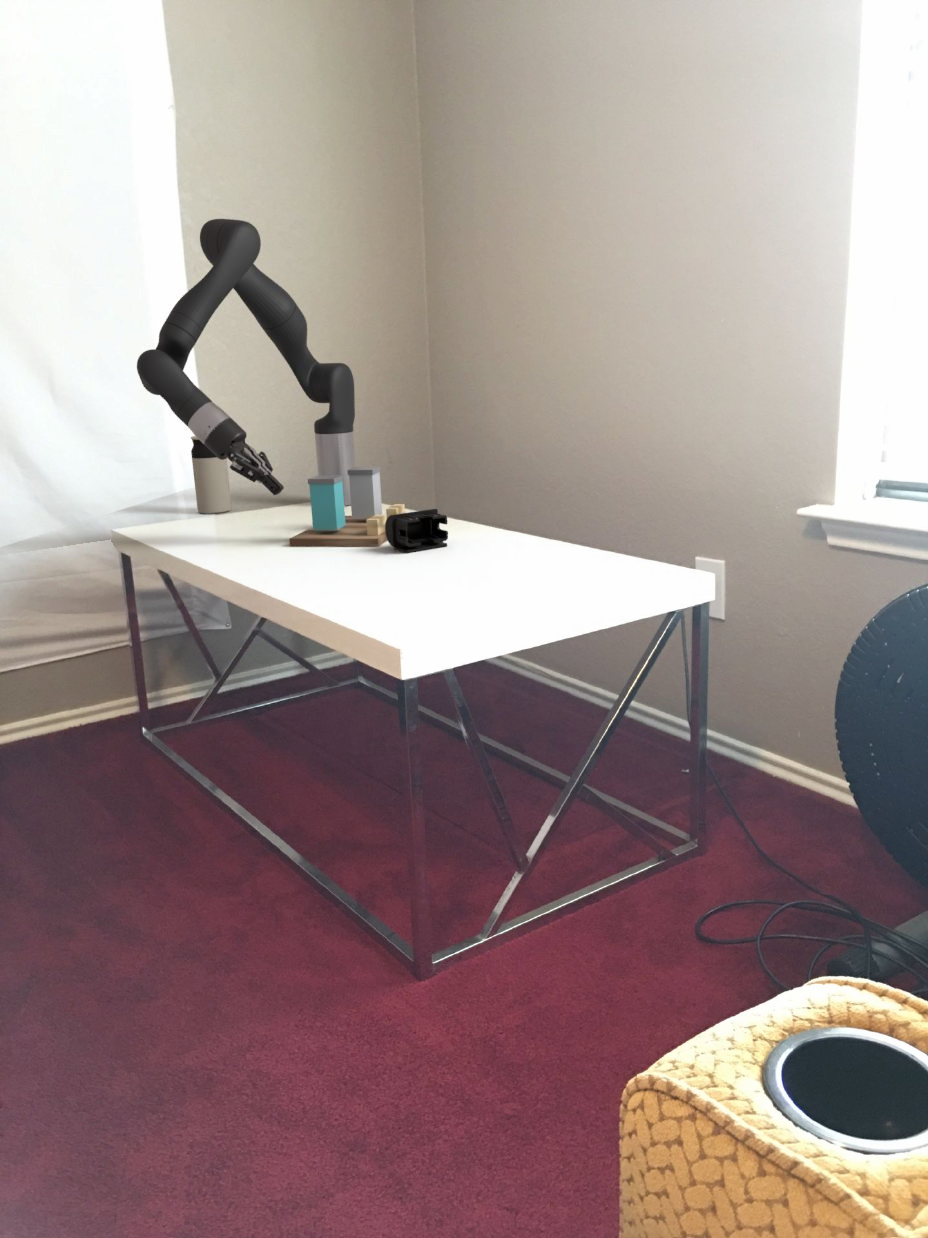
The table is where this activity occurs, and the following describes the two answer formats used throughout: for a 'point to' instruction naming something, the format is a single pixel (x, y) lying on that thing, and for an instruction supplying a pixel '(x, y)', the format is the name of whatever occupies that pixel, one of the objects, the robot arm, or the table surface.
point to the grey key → (365, 491)
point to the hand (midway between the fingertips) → (279, 491)
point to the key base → (350, 532)
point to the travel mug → (210, 480)
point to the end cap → (416, 531)
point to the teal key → (327, 502)
